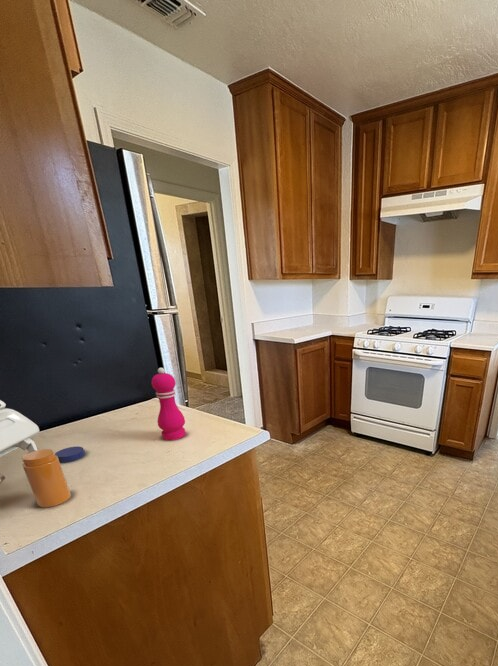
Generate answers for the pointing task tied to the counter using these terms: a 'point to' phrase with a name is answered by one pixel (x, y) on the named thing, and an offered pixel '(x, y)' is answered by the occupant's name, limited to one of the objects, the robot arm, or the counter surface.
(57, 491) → the jar
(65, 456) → the jar lid
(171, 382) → the pepper mill
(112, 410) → the counter surface
